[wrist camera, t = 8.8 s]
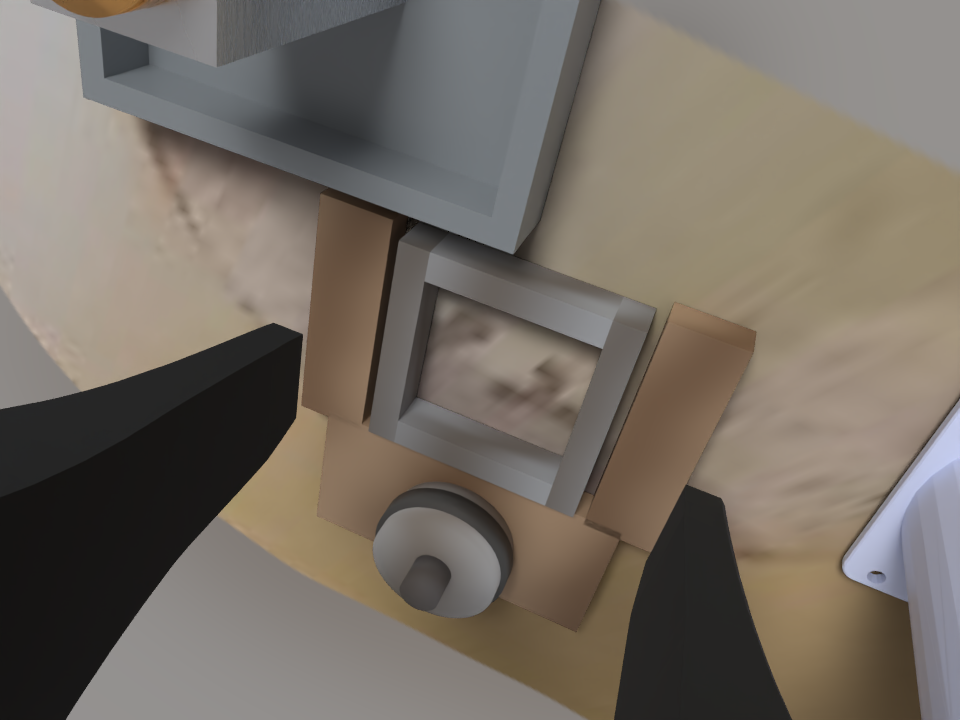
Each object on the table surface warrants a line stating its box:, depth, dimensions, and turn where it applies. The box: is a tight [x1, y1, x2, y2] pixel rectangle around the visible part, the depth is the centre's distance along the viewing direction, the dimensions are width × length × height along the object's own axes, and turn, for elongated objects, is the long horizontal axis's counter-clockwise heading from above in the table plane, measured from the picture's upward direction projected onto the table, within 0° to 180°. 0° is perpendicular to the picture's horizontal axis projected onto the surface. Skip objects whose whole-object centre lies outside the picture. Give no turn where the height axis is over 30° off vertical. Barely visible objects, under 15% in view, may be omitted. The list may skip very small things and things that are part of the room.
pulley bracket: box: [301, 187, 756, 632], centre depth 26 cm, size 13×14×4 cm
